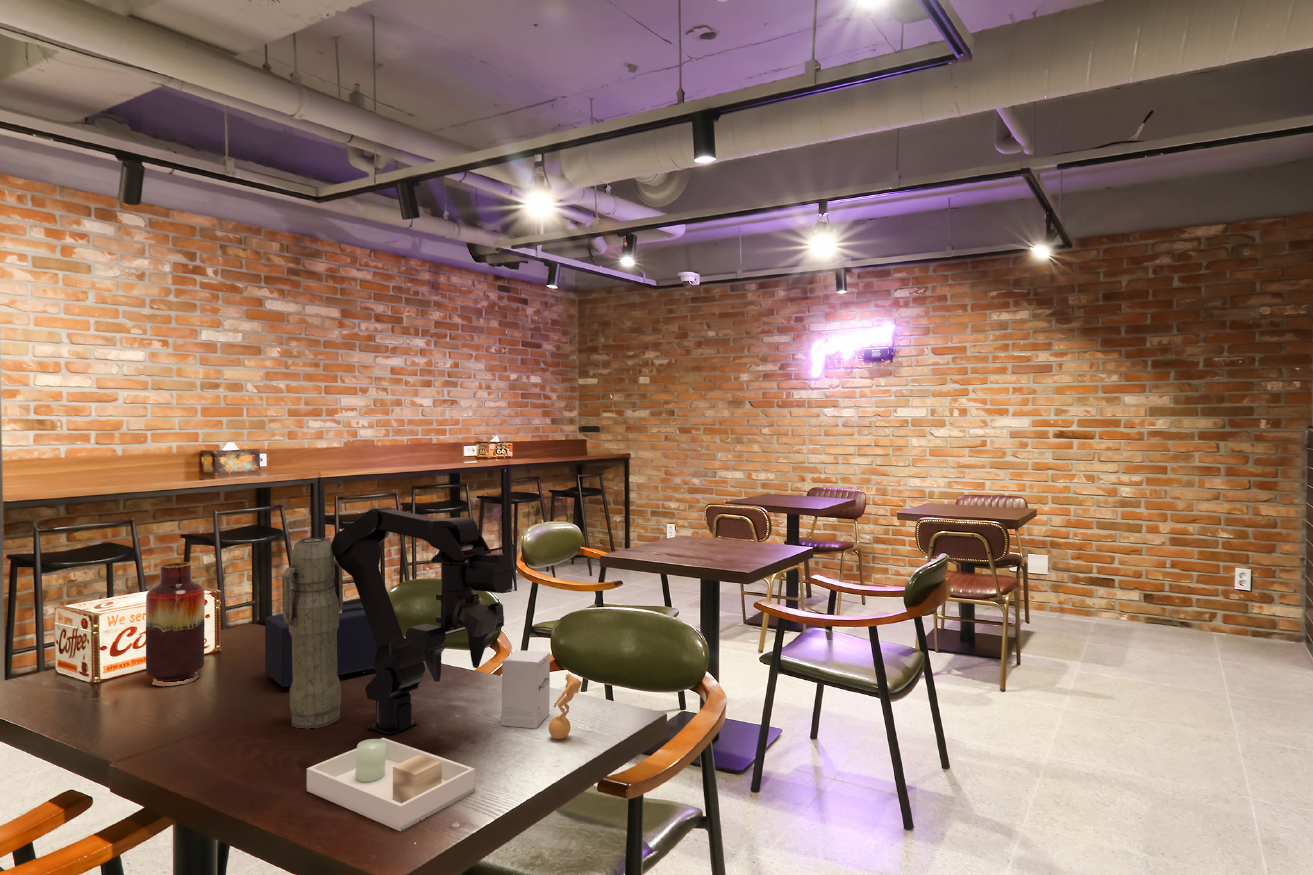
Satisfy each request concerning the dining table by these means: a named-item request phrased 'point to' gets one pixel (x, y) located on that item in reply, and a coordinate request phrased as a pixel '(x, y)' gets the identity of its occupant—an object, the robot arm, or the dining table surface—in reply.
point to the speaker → (351, 645)
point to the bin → (388, 787)
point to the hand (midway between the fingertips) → (457, 674)
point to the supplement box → (525, 688)
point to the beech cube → (415, 777)
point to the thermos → (313, 632)
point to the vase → (175, 625)
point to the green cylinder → (370, 760)
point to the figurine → (561, 724)
